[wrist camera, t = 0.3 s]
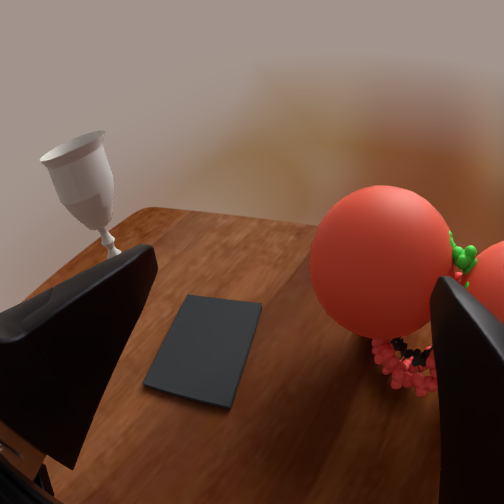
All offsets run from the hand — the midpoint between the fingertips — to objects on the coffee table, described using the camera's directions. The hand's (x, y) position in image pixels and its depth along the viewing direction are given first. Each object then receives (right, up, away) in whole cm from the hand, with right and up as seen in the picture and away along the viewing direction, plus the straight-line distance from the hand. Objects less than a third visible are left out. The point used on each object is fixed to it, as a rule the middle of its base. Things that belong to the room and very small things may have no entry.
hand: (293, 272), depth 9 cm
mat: (-5, -8, +18) cm, 20 cm away
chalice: (-16, -4, +25) cm, 30 cm away
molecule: (+14, -10, +12) cm, 21 cm away
